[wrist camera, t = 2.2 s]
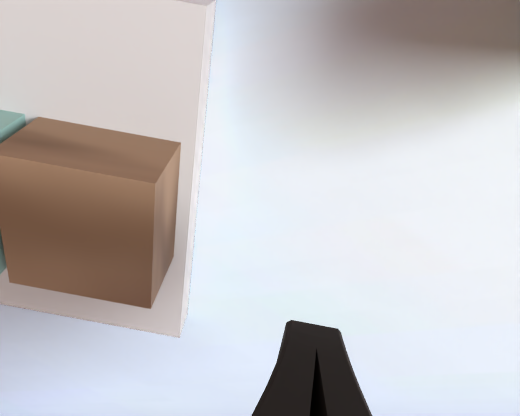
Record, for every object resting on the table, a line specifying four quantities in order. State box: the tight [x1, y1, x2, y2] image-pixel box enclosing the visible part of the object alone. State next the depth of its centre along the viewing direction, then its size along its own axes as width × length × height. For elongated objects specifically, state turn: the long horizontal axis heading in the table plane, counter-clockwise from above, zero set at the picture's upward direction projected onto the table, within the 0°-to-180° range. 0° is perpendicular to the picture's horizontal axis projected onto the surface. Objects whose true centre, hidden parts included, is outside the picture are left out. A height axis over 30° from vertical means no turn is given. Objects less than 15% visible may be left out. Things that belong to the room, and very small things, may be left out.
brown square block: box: [0, 117, 181, 309], centre depth 16 cm, size 5×5×3 cm
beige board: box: [0, 0, 216, 338], centre depth 18 cm, size 14×12×2 cm
